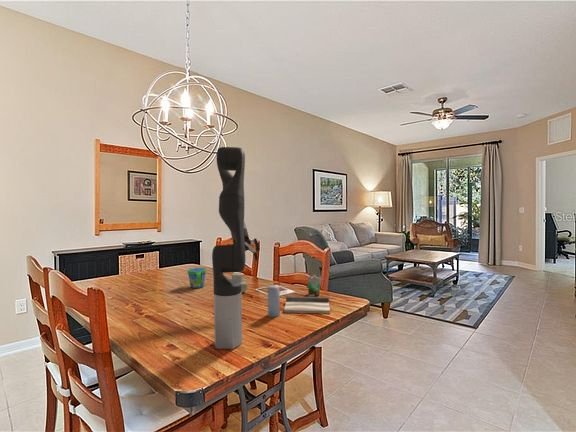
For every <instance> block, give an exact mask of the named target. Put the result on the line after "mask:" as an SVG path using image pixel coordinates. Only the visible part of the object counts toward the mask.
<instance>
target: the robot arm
mask: <svg viewBox="0 0 576 432" xmlns="http://www.w3.org/2000/svg"><path fill="white" fill-rule="evenodd" d="M216 165H217V170H218V173H219V176H220V179H221V183H222V191H221V192H220V194H219V197H218V198H219V199H218V213H219V216H220V218H221V220H222V221H223V222H224V224H225V226H227V228H228V230H229V232H230V234H231V235H230V236H231V239H232V244H230V243H228V244H218V245H215V246H214V247H213V249H212V252H211V253H212V254H211V255H212V256H211V260H212V261H211V262H212V275H213V276H212V277H213V278H212V279H213V328H214V329H213V331H214V332H213V334H214V346H215V349H219V350H221V349H224V350H230V349H231V350H234V349H235V348H236V347H239V346H240V345H242V343H243V308H242V306H243V301H242V300H243V298H242V295H243V294H242V292H241V291H242V289H241V284H240V283H239V282H237V281H234V280H232V278H229V277H227V276H225V274H224V273H226V274H227V273H242V272H244V270H245V268H246V252H247V251H249V252H251V253H253V259H254V262H255V263H256V262H258V260H259V256H258V254H257V253H259V252H260V249H261V248H260V245H259V242H258V239H257V238H254V239H252V240H251V239H250V236H249V232H248V230H247V229H248V228H247V224H246V222H245V186H244V185H245V184H244V181H245V167H246V154H245V150H244V149H243V148H242V147H236V146H235V147H234V146H232V147H230V146H220V147H219V148H218V149H217V151H216ZM231 171H234V174H232V172H231ZM252 245H254V247H255V248H254V247H253V246H252Z"/></svg>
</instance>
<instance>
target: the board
mask: <svg viewBox="0 0 576 432" xmlns="http://www.w3.org/2000/svg"><path fill="white" fill-rule="evenodd" d="M329 297H330V296H318V297H308V296H286V297H285V299H286V300H285V305H284V307H283V313H285V314H286V313H289V314H331V309H330V298H329Z"/></svg>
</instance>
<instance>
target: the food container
mask: <svg viewBox="0 0 576 432" xmlns="http://www.w3.org/2000/svg"><path fill="white" fill-rule="evenodd" d="M321 282H322V277H321V275H320V274H317V273H311V274H310V276H309V278H307V287H308V288H307V290H308V292H307V293H308V296H307V297H320V290H321V289H320V287H321Z"/></svg>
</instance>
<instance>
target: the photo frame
mask: <svg viewBox="0 0 576 432" xmlns="http://www.w3.org/2000/svg"><path fill="white" fill-rule="evenodd" d="M275 286H279V289H283V290H281V291H280V290H279V291H280V297H282V296H286V295H290V294H296V291H295V290H292V289H289V288H287V287H284V286H280V285H278V284H275ZM262 289H268V286H265V287H264V286H263V287H259V288H255V289H254V290H255V291H257V292H258V293H261V294H263V295H266V296H268V292H264V291H262Z"/></svg>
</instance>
